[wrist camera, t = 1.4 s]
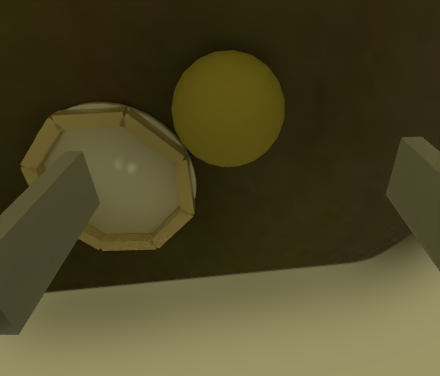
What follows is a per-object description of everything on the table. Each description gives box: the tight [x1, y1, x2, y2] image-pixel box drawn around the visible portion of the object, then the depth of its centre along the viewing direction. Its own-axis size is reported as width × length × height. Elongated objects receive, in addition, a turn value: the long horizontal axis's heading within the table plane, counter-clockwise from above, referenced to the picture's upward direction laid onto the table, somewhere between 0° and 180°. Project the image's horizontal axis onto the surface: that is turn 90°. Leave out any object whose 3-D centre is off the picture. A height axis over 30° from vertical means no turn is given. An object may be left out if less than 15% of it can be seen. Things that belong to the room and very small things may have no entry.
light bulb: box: [171, 50, 285, 167], centre depth 20 cm, size 7×7×10 cm
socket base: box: [20, 102, 197, 251], centre depth 29 cm, size 15×15×2 cm
